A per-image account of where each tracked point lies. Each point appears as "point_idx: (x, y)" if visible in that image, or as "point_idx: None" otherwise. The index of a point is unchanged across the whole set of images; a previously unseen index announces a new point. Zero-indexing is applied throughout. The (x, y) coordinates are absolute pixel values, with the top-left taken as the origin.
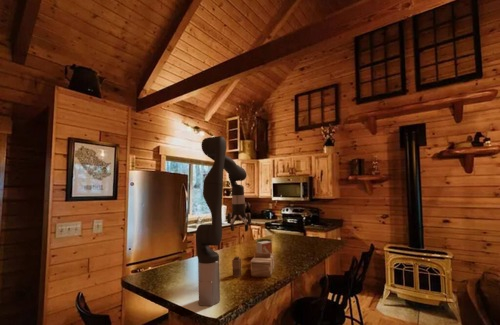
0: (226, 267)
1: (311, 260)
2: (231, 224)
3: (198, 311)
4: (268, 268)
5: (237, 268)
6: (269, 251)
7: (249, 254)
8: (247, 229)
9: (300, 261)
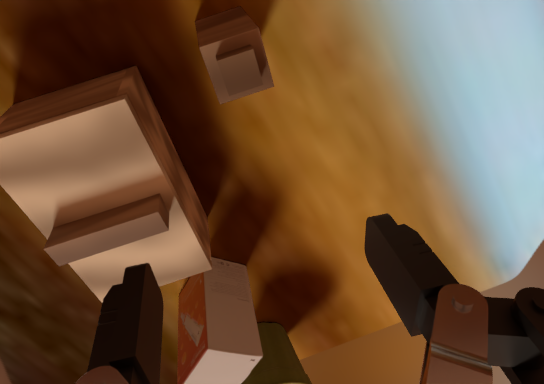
0: (362, 141)
1: (24, 378)
2: (442, 289)
3: None
4: (3, 122)
5: (211, 27)
6: (184, 333)
7: (339, 326)
8: (104, 303)
9: (60, 351)
